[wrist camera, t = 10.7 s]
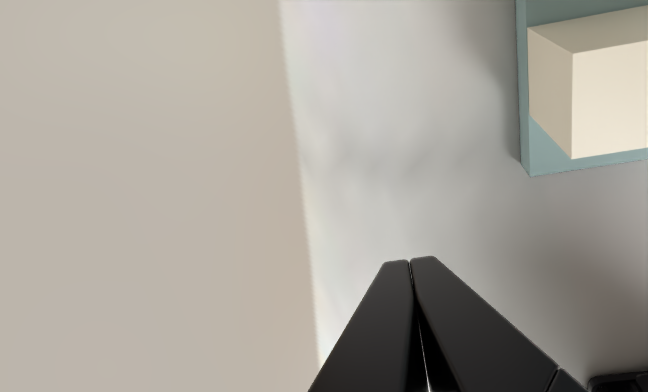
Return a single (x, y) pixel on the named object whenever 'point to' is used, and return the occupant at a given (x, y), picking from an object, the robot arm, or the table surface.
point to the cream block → (591, 82)
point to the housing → (535, 144)
